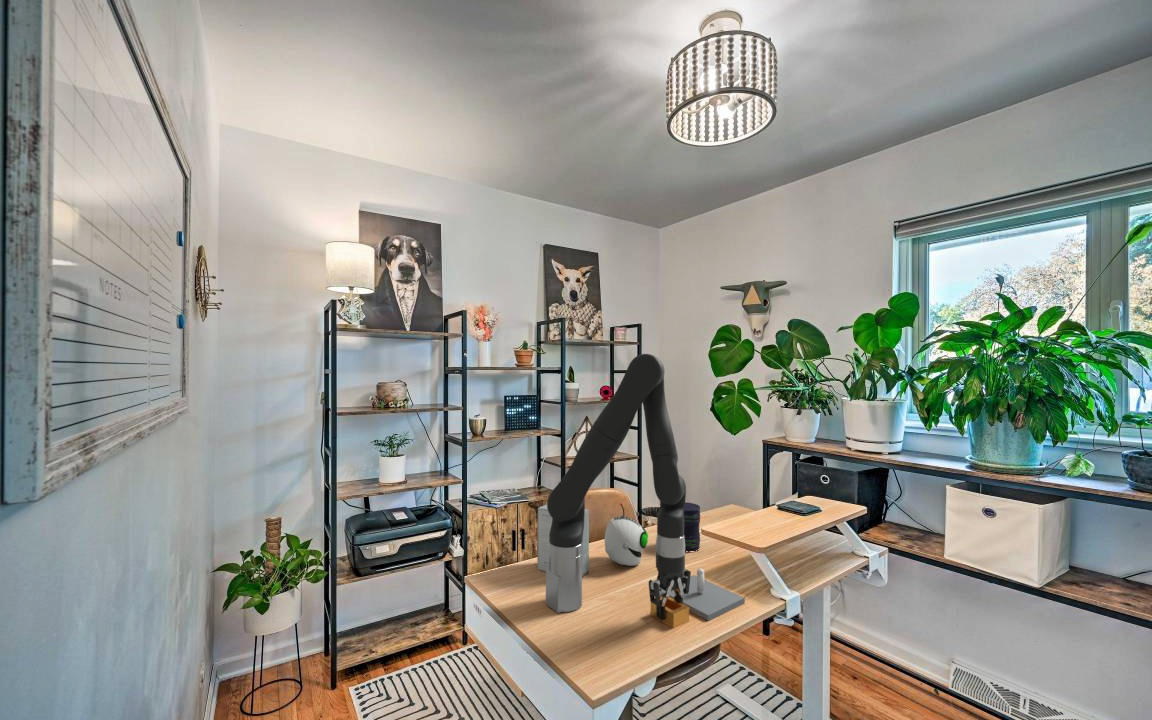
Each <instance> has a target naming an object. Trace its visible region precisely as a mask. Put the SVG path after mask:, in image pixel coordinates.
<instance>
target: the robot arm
mask: <svg viewBox="0 0 1152 720" xmlns="http://www.w3.org/2000/svg"><path fill="white" fill-rule="evenodd" d="M666 400H667V399H666V394H665V367H664V363H663V361H661V360H660V358H659V357H657V356H655V355H653V354H649V353H641V354H638V355H636V356H635V357H633V359H632V360H631V361H630V363H629V364H628V366H627V368H626V371H625V374H624V375H623V378H622V379H621V381H620V383H619V385H618V388H617V389H616V391H615V392H614V394H613V396H612V397H611V399H609V402H608V403H607V404H606V405H605V406H604V408H603V409H602V411H601V412H600V414H599V415H598V416H597V418H596V419H595V421H594V422H593V424H592V426H591V427H590V429H589V430H588V432H587V434H586V436H585V437H584V439H583V441H582V443H581V444H580V446H579V448H578V451H577V452H576V454H575V455H574V458H573V460H572V463H571V465H570V467H569V468H568V469H567V471H566V473H565V474H564V476H563V477H562V478H561V479H560V481H559V482H558V483H557V484H556V486H555V487H554V488H553V489H552V490H551V491H550V493H549V495H548V496H547V501H546V504H547V509H548V512H549V514H550V516H551V517H552V525H551V529H550V533H549V569H547V570H546V571H545V606H548V607H549V608H550V609H552V610H553V611H554V612H556V614H559V613H568V612H569V613H570V612H574V611H577V610H580V608H581V607H582V606H583V576H582V541H583V531H584V515H585V509H586V507H585V506H586V502H585V501H586V499H585V497H586V496H587V493H588V492H589V490H590V488H591V487H592V485H593V483H594V482H595V480H596V479H597V478H598V476H599V475H600V474H601V473H602V472H603V471H604V470H605V468H606V467H607V466H608V465H609V463H610V462H611V461H612V459H613V458H614V456H615V455H616V453H617V452H618V450H619V449H620V447H621V445H622V444H623V442H624V440H625V439H626V437H627V435H628V433H629V430H630V428H631V426H632V424H633V422H634V419H635V417H636V414H637V412H638V411H639V409H640V407H641V405H643V414H644V420H645V423H644V424H645V431H646V439H647V445H648V449H649V450H648V451H649V454H650V458H651V462H652V478H653V486H654V491H655V495H656V497H657V498H658V500H659V510H658V513H657V517H656V518H657V519H656V520H657V521H656V539H655V568H656V570H657V577H656V578H655V579H654V580H652V579H650V580H649V581H648V591H649V601H650V603H651V602H652V603H653V604H655V605H656V615H657V617H658V618H659V619H661V620H664V619H665V603H666V599H667V598H668V597H669V595H670V592H671V591H672V590H673V591H674V593H675V595H676V596H674V599H675V600H677V601H678V602H680V603H683V598H684V595H685V594H688V593H689V585H690V576H692V572H691V571H690V570H688V569H686V568H685V567H686V552H685V539H684V508H685V502H686V497H687V496H686V495H687V485H686V482H685V479H684V478H683V477H682V476H681V475H680V473H679V468H678V460H679V456H678V450H677V446H676V441H675V437H674V436H675V435H674V432H673V429H672V424H671V420H670V416H669V411H668V407H667V402H666ZM684 584H685V588H684V587H683V586H684ZM662 589H663V590H665V591H666V592H665V593H664V592H662ZM661 595H662V596H663V597H662V596H661ZM661 597H662V600H660V598H661Z"/></svg>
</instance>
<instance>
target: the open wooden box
mask: <svg viewBox="0 0 1152 720" xmlns="http://www.w3.org/2000/svg"><path fill="white" fill-rule="evenodd" d="M660 600H662V596H661V598H660ZM650 616H652V617H653V618H655V619H656V620H659V621H661V623H664V624H665V625H667V626H668V627H671V628H672V629H675V628H677V627H680V626H681V625H683V624H686V623H688V622H690V611H689V607H688V606H686V605H685V604H683V603H680V602H678V601H677V600H675V599H673V598H671V597H668V598H667V599H666V603H665V619H664V620H661V619H659V618H658V617H657V615H656V605H655V604H653V603H652V602H650Z"/></svg>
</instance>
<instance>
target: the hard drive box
mask: <svg viewBox="0 0 1152 720" xmlns="http://www.w3.org/2000/svg"><path fill="white" fill-rule="evenodd" d="M589 515H590V510H589V509H588V508H585V515H584V531H583V541H582V577H584V576H585V575H586V574H587V573H589V571H590V550H589V549H590V547H589V546H590V541H589V540H590V526H589V525H590V520H589V519H590V516H589ZM551 525H552V517H551V516H550V514H549V512H548V509H547V503H545V504H544V505H541V506H539V507H537V561H536V562H537V563H536V565H537V567H536V568H537V570H540V571H543V572H546V570H547V569H549V533H550V529H551Z"/></svg>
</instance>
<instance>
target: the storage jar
mask: <svg viewBox="0 0 1152 720" xmlns="http://www.w3.org/2000/svg"><path fill="white" fill-rule="evenodd" d="M700 524H701V506H700V505H699V504H697V503H694V502H686V501H685V508H684V539H685V551H696V550H698V549H699V548H700V547H701V546H700V545H701V544H700V543H701V532H700ZM699 550H700V549H699ZM699 550H698V551H699ZM696 552H697V551H696Z"/></svg>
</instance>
